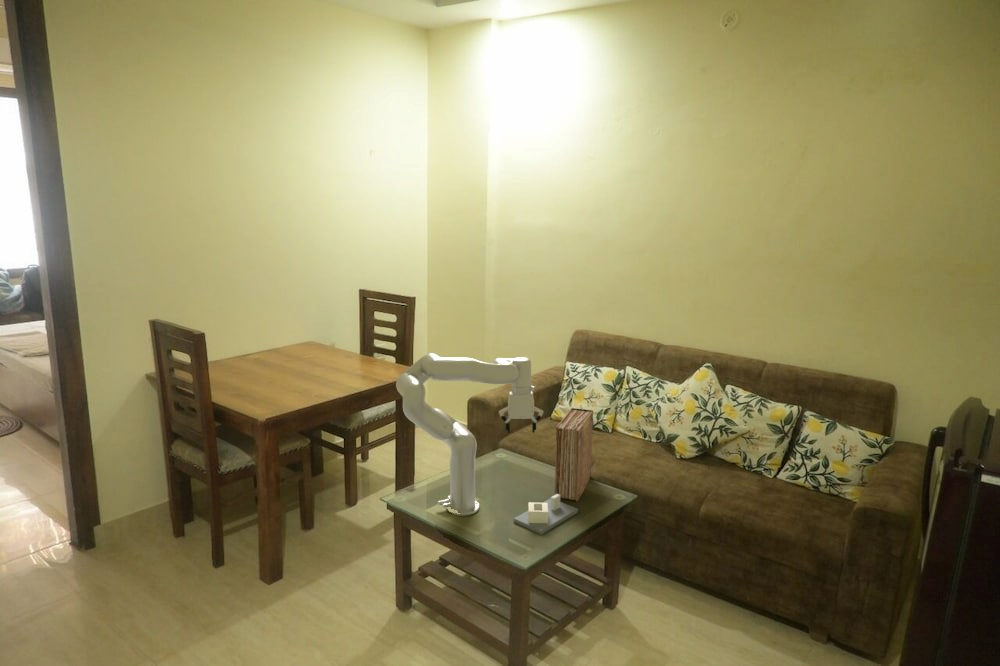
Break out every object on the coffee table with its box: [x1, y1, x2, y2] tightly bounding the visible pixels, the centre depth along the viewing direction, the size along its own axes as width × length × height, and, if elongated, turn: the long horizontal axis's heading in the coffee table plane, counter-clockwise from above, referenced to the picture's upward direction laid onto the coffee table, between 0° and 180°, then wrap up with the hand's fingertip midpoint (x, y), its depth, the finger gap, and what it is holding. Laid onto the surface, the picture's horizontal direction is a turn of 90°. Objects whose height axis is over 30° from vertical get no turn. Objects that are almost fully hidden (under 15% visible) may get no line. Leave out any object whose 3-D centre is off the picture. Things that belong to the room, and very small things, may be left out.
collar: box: [527, 501, 548, 523], centre depth 225 cm, size 7×7×4 cm
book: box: [554, 407, 594, 503], centre depth 251 cm, size 25×9×30 cm, turn 159°
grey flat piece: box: [513, 494, 579, 536], centre depth 229 cm, size 22×13×6 cm, turn 138°
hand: (521, 431), depth 240 cm, fingers open, 9 cm apart
